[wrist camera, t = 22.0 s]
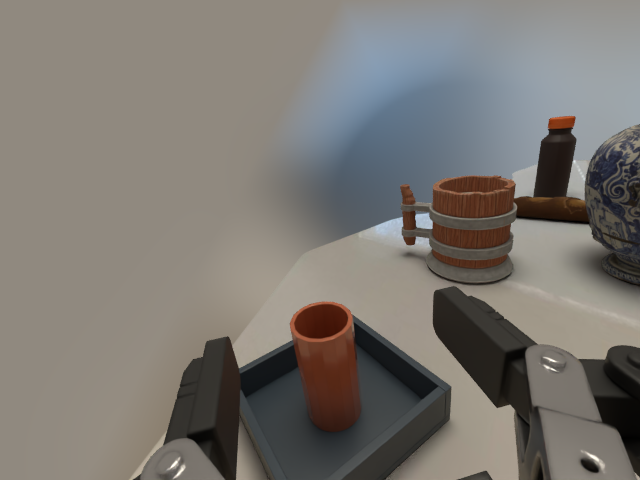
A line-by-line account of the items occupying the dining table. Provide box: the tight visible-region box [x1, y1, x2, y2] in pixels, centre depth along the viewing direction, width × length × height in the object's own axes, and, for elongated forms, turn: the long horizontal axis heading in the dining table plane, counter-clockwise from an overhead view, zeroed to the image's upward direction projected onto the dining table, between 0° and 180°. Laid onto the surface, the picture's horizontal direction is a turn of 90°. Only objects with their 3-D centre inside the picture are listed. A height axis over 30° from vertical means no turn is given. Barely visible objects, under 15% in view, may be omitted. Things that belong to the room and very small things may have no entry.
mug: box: [400, 176, 517, 284], centre depth 54 cm, size 14×19×15 cm
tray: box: [239, 315, 451, 480], centre depth 31 cm, size 17×16×4 cm
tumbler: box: [290, 302, 362, 432], centre depth 30 cm, size 6×6×11 cm
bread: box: [514, 196, 590, 222], centre depth 68 cm, size 38×5×5 cm, turn 53°
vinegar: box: [533, 116, 576, 198], centre depth 76 cm, size 7×7×20 cm
